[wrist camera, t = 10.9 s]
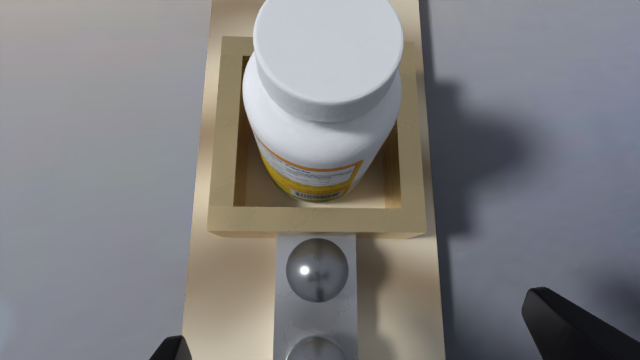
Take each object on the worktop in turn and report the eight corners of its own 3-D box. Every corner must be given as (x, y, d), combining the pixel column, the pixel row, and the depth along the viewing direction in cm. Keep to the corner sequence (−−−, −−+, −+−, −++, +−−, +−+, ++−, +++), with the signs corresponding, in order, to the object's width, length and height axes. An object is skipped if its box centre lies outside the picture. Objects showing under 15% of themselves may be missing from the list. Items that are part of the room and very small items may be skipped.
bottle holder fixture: (415, 397, 16) (440, 424, 13) (210, 400, 16) (190, 428, 13) (391, -29, 22) (405, -75, 19) (241, -36, 21) (231, -84, 19)
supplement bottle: (320, 87, 20) (337, -83, 10) (388, 159, 19) (475, 45, 9) (241, 147, 19) (180, 18, 9) (310, 227, 18) (319, 174, 8)
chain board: (441, 413, 17) (450, 422, 16) (180, 417, 16) (173, 426, 15) (410, -29, 23) (415, -42, 22) (220, -37, 23) (216, -50, 22)
